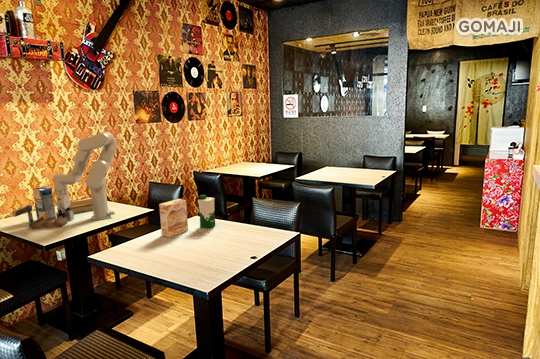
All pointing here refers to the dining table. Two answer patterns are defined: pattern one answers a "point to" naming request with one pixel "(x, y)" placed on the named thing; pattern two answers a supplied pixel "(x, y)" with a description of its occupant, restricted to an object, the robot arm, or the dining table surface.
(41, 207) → the beverage box
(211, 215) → the milk carton
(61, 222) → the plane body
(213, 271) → the dining table surface
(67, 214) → the light grey block
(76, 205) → the diary
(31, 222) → the post
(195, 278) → the dining table surface
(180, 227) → the coffeecake box
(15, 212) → the lever
